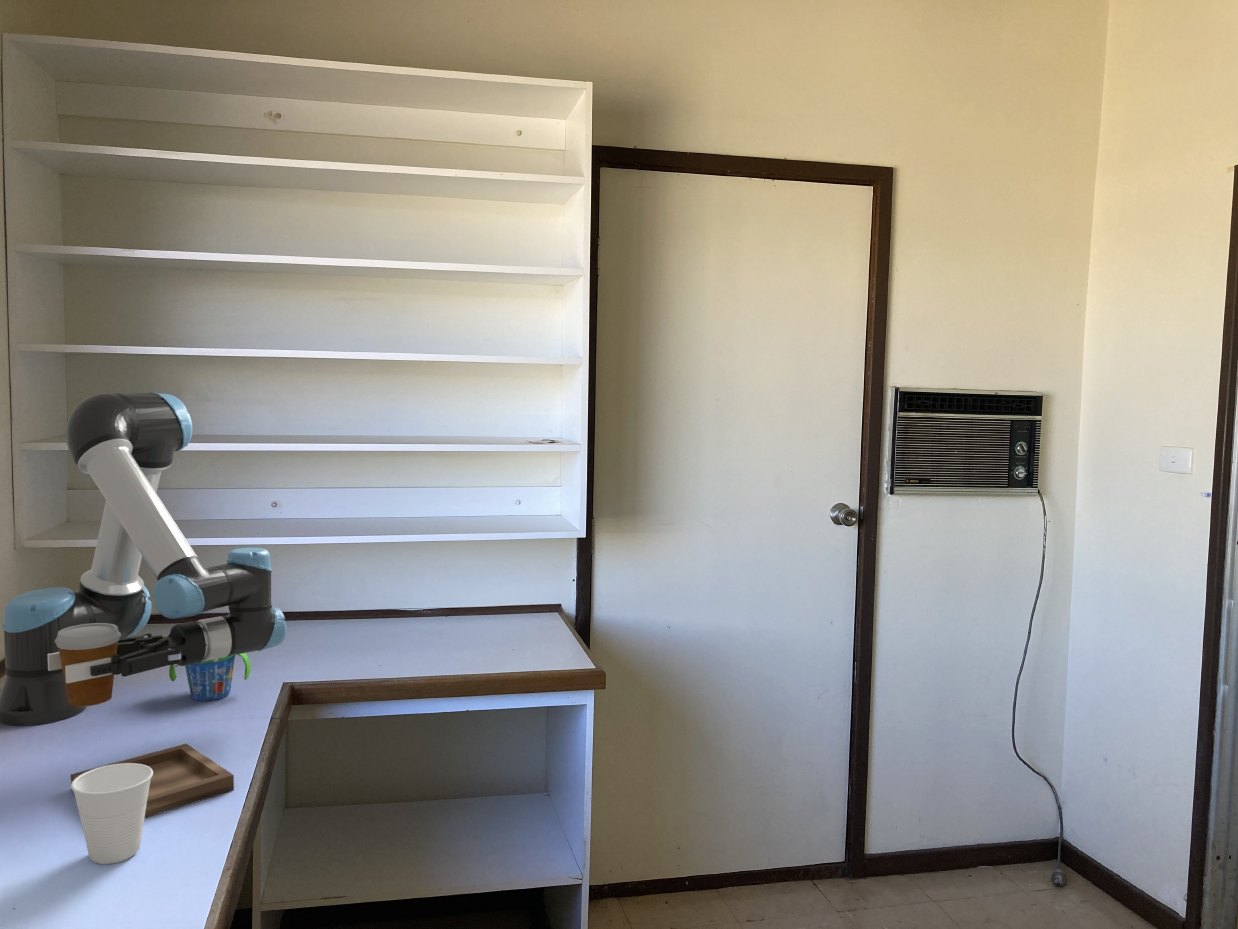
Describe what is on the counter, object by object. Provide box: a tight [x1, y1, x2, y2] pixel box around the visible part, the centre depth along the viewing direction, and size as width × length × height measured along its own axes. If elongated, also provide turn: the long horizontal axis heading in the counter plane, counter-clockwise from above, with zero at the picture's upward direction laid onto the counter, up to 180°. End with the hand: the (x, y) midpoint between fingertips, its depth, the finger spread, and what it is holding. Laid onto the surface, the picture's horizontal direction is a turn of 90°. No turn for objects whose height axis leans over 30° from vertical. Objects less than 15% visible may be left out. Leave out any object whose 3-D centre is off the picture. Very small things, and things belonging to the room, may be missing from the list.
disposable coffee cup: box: [55, 623, 121, 707], centre depth 153 cm, size 10×10×12 cm
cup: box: [70, 763, 153, 865], centre depth 127 cm, size 10×10×11 cm
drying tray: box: [70, 743, 235, 819], centre depth 147 cm, size 18×18×2 cm
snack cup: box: [168, 653, 251, 701], centre depth 190 cm, size 16×10×10 cm
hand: (57, 668), depth 149 cm, fingers closed on disposable coffee cup, 8 cm apart
